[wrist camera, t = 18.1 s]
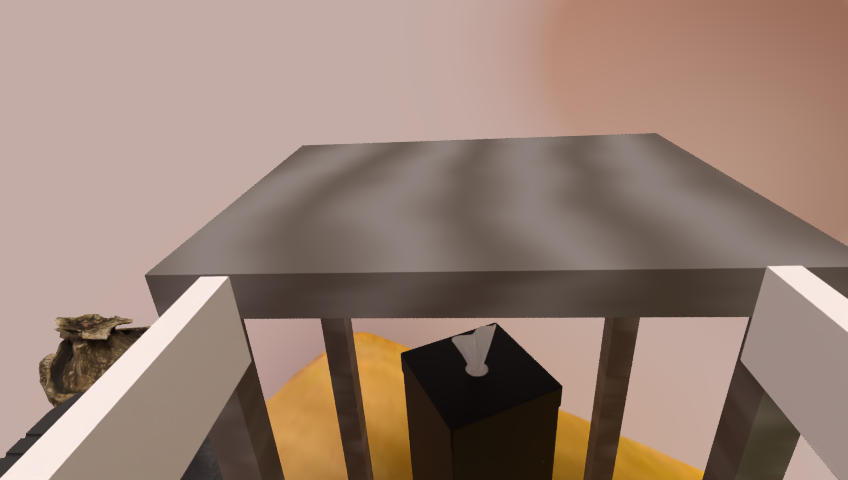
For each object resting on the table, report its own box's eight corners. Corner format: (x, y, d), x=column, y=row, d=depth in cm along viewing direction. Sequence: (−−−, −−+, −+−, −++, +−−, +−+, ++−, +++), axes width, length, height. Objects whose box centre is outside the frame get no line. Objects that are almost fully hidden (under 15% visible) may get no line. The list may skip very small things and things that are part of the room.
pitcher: (221, 713, 35) (74, 414, 23) (73, 595, 43) (-97, 325, 31) (313, 573, 44) (244, 300, 31) (175, 496, 52) (76, 254, 39)
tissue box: (419, 566, 44) (396, 313, 32) (492, 530, 46) (496, 284, 35) (459, 661, 37) (449, 386, 25) (541, 612, 40) (567, 343, 28)
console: (599, 492, 50) (656, 133, 34) (678, 761, 32) (881, 266, 16) (357, 485, 52) (302, 145, 36) (303, 733, 34) (144, 274, 18)
